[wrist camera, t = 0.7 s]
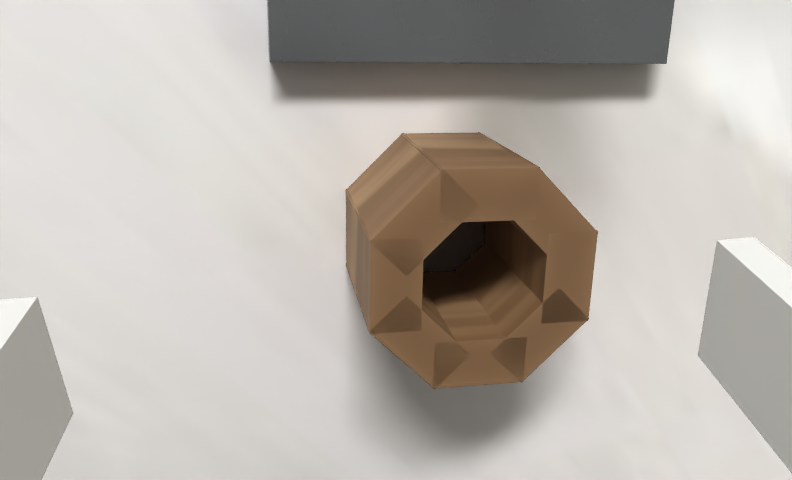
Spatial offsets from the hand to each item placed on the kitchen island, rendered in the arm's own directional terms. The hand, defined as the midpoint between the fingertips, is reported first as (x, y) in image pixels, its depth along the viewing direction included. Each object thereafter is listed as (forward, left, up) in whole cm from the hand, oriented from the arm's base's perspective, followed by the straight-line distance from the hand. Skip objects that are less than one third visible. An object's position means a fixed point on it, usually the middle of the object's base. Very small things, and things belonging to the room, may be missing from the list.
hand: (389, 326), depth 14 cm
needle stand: (+12, -6, -17) cm, 21 cm away
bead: (-3, -5, -17) cm, 18 cm away
